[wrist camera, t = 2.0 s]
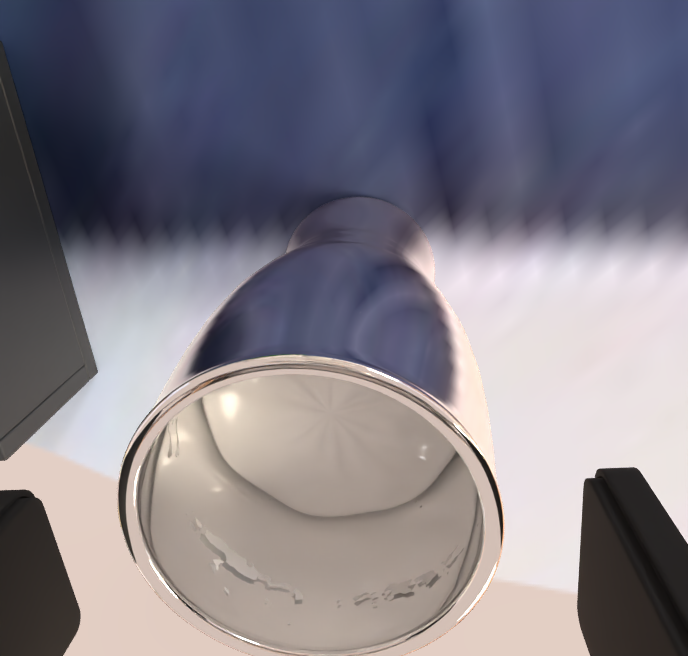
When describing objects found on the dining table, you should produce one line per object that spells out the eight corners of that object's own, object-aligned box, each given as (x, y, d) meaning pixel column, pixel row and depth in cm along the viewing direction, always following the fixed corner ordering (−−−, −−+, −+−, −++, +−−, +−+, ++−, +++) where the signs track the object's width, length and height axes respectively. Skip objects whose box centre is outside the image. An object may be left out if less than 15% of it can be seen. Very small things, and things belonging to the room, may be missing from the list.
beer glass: (284, 353, 25) (149, 675, 11) (263, 190, 23) (54, 353, 9) (447, 346, 24) (513, 682, 11) (444, 177, 22) (526, 333, 8)
